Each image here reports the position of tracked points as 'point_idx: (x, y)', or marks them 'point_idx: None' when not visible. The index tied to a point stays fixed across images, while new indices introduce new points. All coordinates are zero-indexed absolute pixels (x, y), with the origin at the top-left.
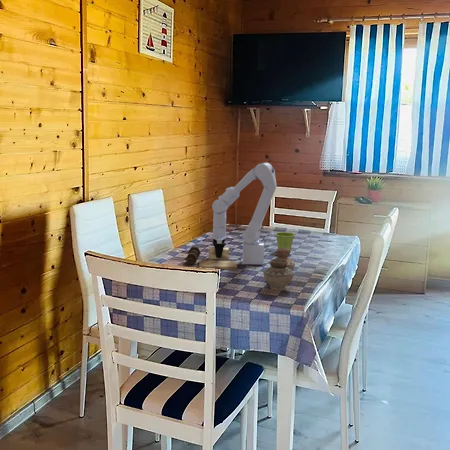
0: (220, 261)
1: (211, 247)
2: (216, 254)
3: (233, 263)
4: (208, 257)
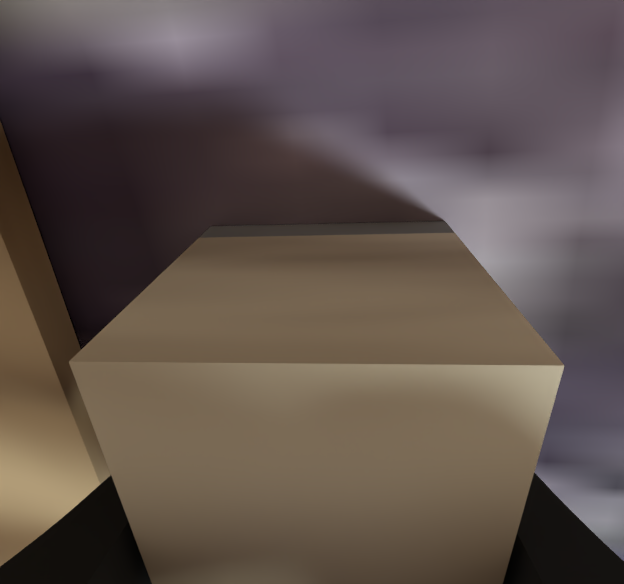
0: (28, 434)
1: (458, 456)
2: None
3: (5, 556)
4: (338, 233)
